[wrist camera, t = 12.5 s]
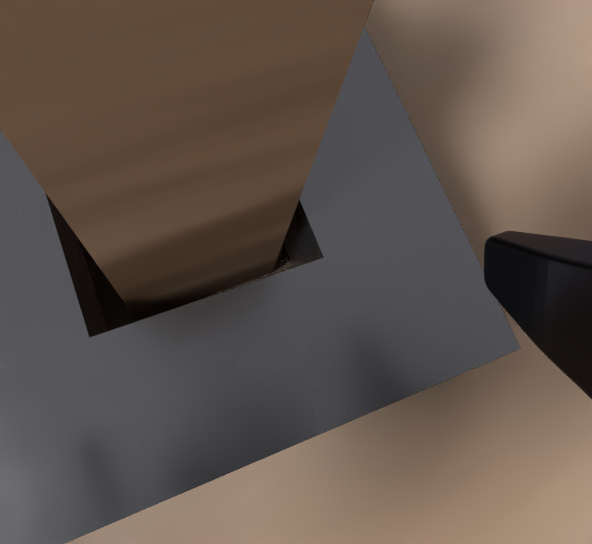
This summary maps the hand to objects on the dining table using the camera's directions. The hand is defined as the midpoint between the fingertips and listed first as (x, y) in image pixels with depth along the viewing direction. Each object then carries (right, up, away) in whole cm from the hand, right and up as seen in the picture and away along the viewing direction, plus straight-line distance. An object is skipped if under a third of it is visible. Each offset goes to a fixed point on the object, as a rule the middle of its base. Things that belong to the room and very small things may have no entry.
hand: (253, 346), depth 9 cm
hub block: (-3, +2, +8) cm, 9 cm away
